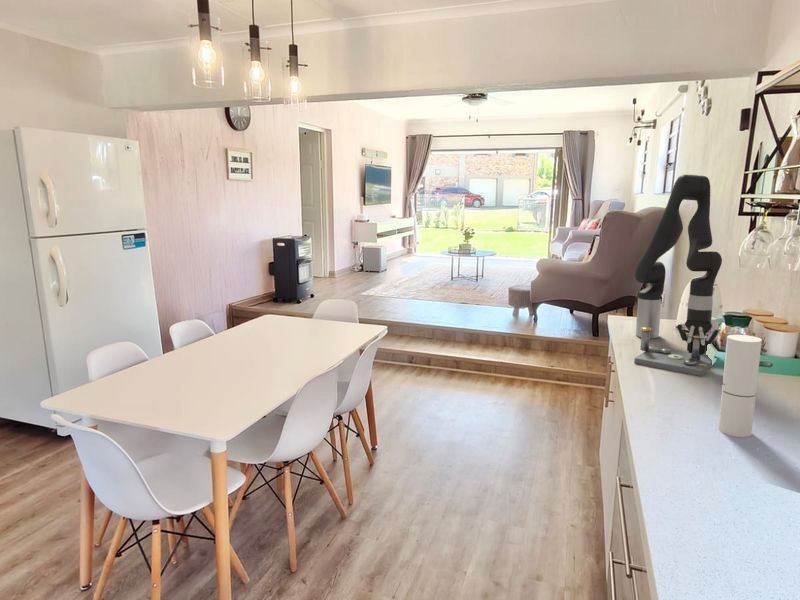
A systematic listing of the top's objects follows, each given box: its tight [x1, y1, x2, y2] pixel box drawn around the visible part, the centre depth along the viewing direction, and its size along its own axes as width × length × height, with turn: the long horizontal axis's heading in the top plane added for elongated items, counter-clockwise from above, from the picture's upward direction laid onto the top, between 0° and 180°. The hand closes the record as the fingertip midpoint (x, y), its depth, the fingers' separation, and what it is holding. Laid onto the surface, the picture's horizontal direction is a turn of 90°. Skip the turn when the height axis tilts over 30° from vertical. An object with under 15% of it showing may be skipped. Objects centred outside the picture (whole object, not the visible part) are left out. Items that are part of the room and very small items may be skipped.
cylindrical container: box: [718, 334, 763, 438], centre depth 126 cm, size 7×7×25 cm
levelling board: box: [633, 346, 713, 377], centre depth 183 cm, size 20×22×2 cm
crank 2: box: [683, 335, 702, 366], centre depth 176 cm, size 11×4×9 cm, turn 134°
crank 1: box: [639, 327, 671, 354], centre depth 189 cm, size 11×4×9 cm, turn 66°
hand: (695, 353), depth 179 cm, fingers closed on crank 2, 3 cm apart
